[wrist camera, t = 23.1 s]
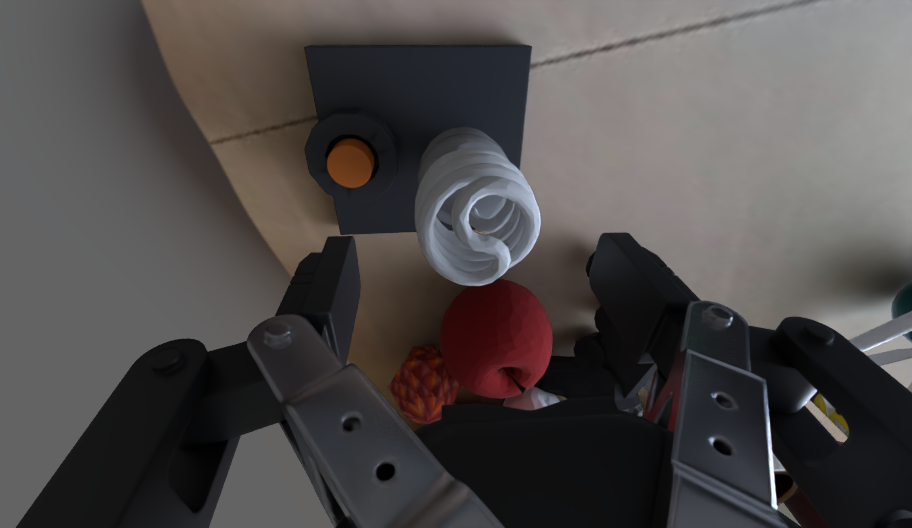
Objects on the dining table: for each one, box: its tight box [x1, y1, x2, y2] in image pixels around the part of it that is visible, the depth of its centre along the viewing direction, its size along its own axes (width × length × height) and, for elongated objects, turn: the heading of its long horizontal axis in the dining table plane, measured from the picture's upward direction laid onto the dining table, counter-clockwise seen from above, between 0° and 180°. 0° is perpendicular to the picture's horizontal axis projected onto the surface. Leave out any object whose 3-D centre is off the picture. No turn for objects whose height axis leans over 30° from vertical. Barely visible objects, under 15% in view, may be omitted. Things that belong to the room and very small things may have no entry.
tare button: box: [327, 138, 374, 188], centre depth 23 cm, size 3×3×2 cm
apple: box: [440, 279, 553, 399], centre depth 30 cm, size 9×9×10 cm
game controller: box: [534, 251, 657, 417], centre depth 33 cm, size 16×7×10 cm, turn 163°
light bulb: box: [414, 127, 541, 286], centre depth 20 cm, size 6×6×12 cm
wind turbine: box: [821, 311, 912, 417], centre depth 37 cm, size 4×14×21 cm
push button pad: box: [304, 45, 532, 235], centre depth 24 cm, size 14×12×3 cm
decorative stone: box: [388, 346, 461, 424], centre depth 33 cm, size 6×7×8 cm
